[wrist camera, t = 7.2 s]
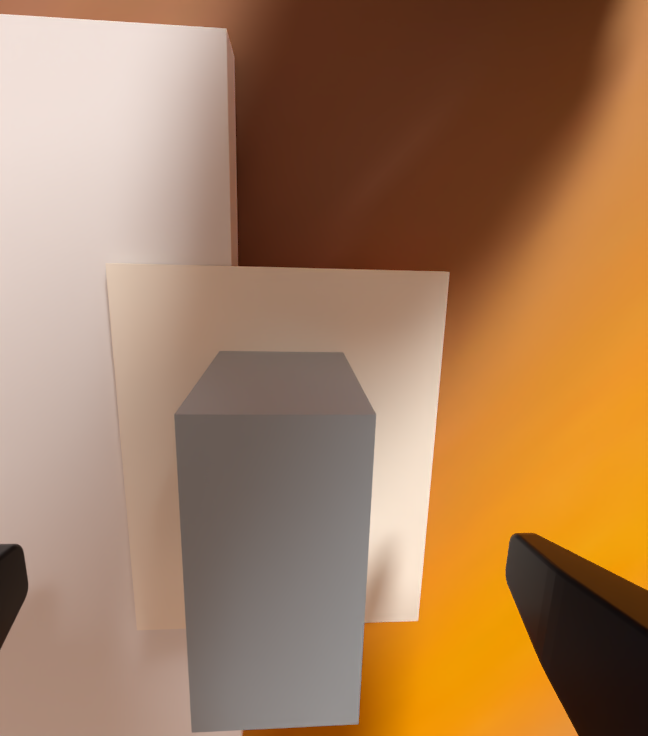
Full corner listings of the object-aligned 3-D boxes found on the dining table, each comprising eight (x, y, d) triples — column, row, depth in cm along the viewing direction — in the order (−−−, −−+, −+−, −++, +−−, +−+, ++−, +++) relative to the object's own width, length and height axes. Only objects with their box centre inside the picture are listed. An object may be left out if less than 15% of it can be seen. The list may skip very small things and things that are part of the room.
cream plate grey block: (444, 271, 11) (553, 284, 7) (414, 610, 14) (479, 797, 9) (112, 262, 11) (-28, 270, 6) (141, 619, 13) (58, 823, 8)
